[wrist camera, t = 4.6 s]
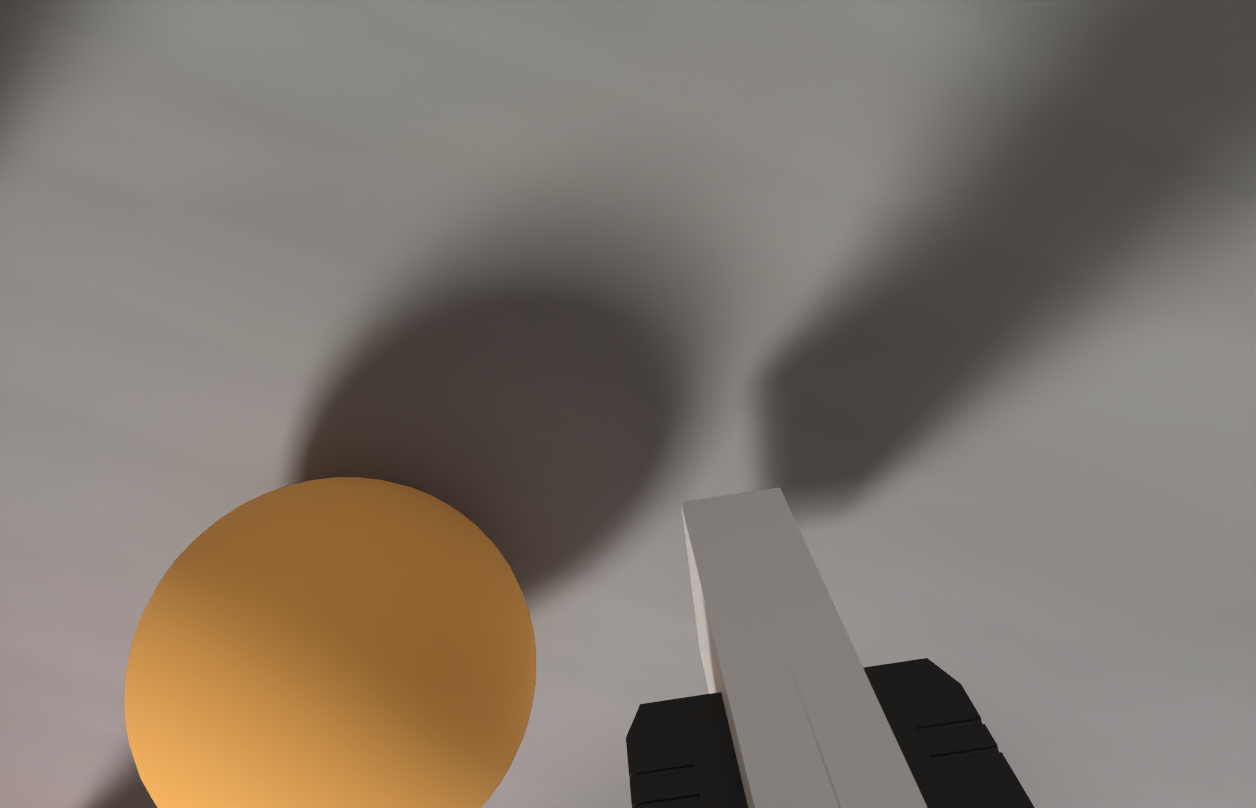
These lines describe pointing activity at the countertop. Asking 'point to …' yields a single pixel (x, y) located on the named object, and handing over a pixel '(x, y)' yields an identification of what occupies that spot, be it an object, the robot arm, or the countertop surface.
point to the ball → (332, 657)
